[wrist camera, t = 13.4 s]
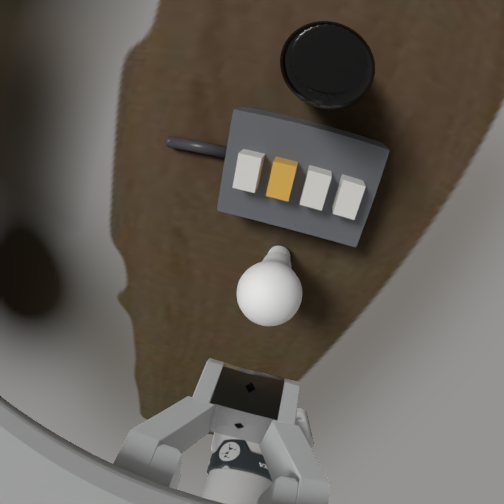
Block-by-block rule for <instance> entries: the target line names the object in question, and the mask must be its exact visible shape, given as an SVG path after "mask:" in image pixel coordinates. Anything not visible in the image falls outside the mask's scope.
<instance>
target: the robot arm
mask: <svg viewBox="0 0 504 504" xmlns="http://www.w3.org/2000/svg"><path fill="white" fill-rule="evenodd" d="M299 392H300V382H297V381H293V380H288V379H284V378H281V377H277V376H273V375H268V374H264V373H260V372H256V371H250V370H247V369H243V368H240V367H237V366H234V365H230V364H227V363H224V362H221V361H218V360H214V359H211V358H209V359H208V361H207V363H206V365H205V367H204V370H203V372H202V375H201V377H200V380H199V382H198V385H197V387H196V389H195V392H194V394H193V397H189V396H187V397H186V398H184V399H182V400H181V401H179V402H177V403H176V404H174V405H172V406H171V407H169V408H167V409H166V410H164V411H162V412H161V413H159V414H157V415H155V416H154V417H152V418H150V419H148V420H147V421H145V422H143V423H142V424H140V425H138V426H136V427H134V428H133V429H131V430H130V432H129V434H128V436H127V438H126V440H125V442H124V444H123V446H122V447H121V449H120V451H119V453H118V455H117V457H116V459H115V461H114V463H113V464H112V463H109V462H107V461H105V460H103V459H101V458H99V457H97V456H95V455H93V454H91V453H89V452H87V451H85V450H84V449H82V448H80V447H78V446H76V445H74V444H72V443H71V442H69V441H67V440H65V439H64V438H62V437H60V436H59V435H57V434H55V433H53V432H52V431H50V430H49V429H47V428H45V427H44V426H42V425H41V424H39V423H38V422H36V421H34V420H33V419H32V418H30V417H28V416H27V415H26V414H24V413H23V412H21V411H20V410H18V409H17V408H16V407H14V406H13V405H11V404H10V403H9V402H7V401H6V400H5V399H3V398H2V397H1V396H0V504H328V499H329V490H330V481H329V480H328V478H327V476H326V474H325V472H324V470H323V468H322V467H321V465H320V463H319V461H318V459H317V457H316V456H315V454H314V452H313V450H312V447H313V444H314V443H313V438H312V433H311V430H310V425H309V421H308V416H307V412H306V410H304V409H302V408H298V400H299ZM209 431H212V432H214V437H213V442H212V447H211V450H212V452H213V454H212V456H211V459H210V461H209V464H208V470H207V473H208V478H207V481H206V484H205V487H204V490H203V493H202V496H201V497H199V496H195V495H192V494H189V493H186V492H183V491H180V490H177V486H178V484H179V481H180V477H181V453H183V452H184V451H185V450H187V449H188V448H189V447H191V446H192V445H193V444H195V443H196V442H197V441H198V440H200V439H201V438H202V437H204V436H205V435H206V434H208V433H209Z"/></svg>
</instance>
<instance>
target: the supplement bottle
mask: <svg viewBox="0 0 504 504" xmlns="http://www.w3.org/2000/svg"><path fill="white" fill-rule="evenodd" d="M280 67H281V72H282V76H283V78H284V81H285V83H286V84H287V86H288V87H289V89H290V90H291V91H292V92H293V93H294V94H295V95H296V96H297V97H298V98H299V99H301V100H302V101H304V102H306V103H307V104H310V105H312V106H315V107H318V108H323V109H338V108H343V107H347V106H349V105H352V104H354V103H355V102H357V101H358V100H360V99H361V98H362V97H363V96H364V95H365V94H366V93H367V91H368V90H369V88H370V87H371V85H372V82H373V79H374V75H375V62H374V57H373V54H372V52H371V49H370V47H369V46H368V44H367V43H366V41H365V40H364V39H363V38H362V37H361V36H360V35H359V34H358V33H357V32H355V31H354V30H353V29H351V28H349V27H347V26H345V25H343V24H340V23H336V22H330V21H318V22H313V23H309V24H306V25H304V26H302V27H300V28H299V29H297V30H296V31H294V32H293V33H292V34H291V35H290V36H289V38H288V39H287V40H286V42H285V44H284V46H283V48H282V52H281V56H280Z"/></svg>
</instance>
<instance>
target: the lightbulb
mask: <svg viewBox="0 0 504 504" xmlns="http://www.w3.org/2000/svg"><path fill="white" fill-rule="evenodd" d="M237 301H238V304H239V307H240V309H241V311H242V312H243V313H244V315H245V316H246V317H247V318H248V319H250V320H251V321H253V322H254V323H256V324H259V325H262V326H276V325H280V324H282V323H284V322H286V321H288V320H289V319H291V318H292V317H293V316H294V315H295V313H296V312H297V310H298V309H299V306H300V304H301V301H302V287H301V283H300V280H299V278H298V277H297V275H296V274H295V273H294V271H293V270H292V269H291V262H290V252H289V251H288V249H287V248H285V247H283V246H274V247H272V248H271V249H270V250H269V252H268V254H267V256H265V258H264V259H263V261H262V262H260V263H257V264H255V265H253V266H251V267H250V268H249V269H247V270H246V272H245V273H244V274H243V275H242V276H241V278H240V280H239V283H238V286H237Z"/></svg>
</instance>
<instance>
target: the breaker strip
mask: <svg viewBox="0 0 504 504" xmlns="http://www.w3.org/2000/svg"><path fill="white" fill-rule="evenodd" d="M165 143H166V145H167V146H168V147H171V148H176V149H182V150H187V151H192V152H197V153H202V154H207V155H212V156H217V157H222V158H225V162H224V168H223V174H222V180H221V187H220V193H219V200H218V206H217V211H221V212H225V213H229V214H233V215H236V216H240V217H244V218H248V219H252V220H256V221H260V222H264V223H268V224H271V225H275V226H279V227H283V228H287V229H290V230H294V231H298V232H302V233H305V234H309V235H313V236H316V237H320V238H324V239H327V240H331V241H334V242H338V243H342V244H345V245H349V246H352V247H356V246H357V244H358V241H359V239H360V236H361V233H362V231H363V228H364V225H365V222H366V220H367V217H368V214H369V211H370V209H371V206H372V203H373V200H374V197H375V194H376V191H377V188H378V185H379V182H380V179H381V176H382V173H383V170H384V167H385V164H386V161H387V158H388V155H389V151H390V150H389V149H388V148H387V147H386V146H385V145H384V144H383V143H382V142H379V141H376V140H373V139H370V138H367V137H364V136H361V135H358V134H354V133H351V132H348V131H344V130H341V129H337V128H334V127H330V126H327V125H323V124H319V123H316V122H312V121H308V120H304V119H300V118H296V117H292V116H287V115H283V114H279V113H274V112H270V111H265V110H260V109H255V108H250V107H245V106H243V107H240V108H236V109H234V110H233V115H232V121H231V126H230V132H229V138H228V144H227V147H226V146H221V145H216V144H211V143H206V142H200V141H195V140H189V139H184V138H178V137H172V136H171V137H168V138H167V139H166V141H165Z"/></svg>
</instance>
